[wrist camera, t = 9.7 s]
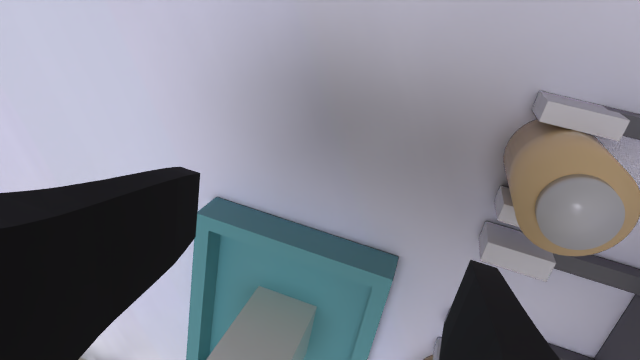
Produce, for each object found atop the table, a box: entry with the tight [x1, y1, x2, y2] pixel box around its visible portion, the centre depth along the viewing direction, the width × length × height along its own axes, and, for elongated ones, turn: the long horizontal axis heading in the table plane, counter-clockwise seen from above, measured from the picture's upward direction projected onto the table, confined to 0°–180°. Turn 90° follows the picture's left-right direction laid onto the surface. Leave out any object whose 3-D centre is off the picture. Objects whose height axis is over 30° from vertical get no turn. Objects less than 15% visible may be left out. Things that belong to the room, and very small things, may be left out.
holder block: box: [433, 91, 640, 360], centre depth 20 cm, size 9×19×2 cm, turn 169°
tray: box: [186, 197, 399, 360], centre depth 25 cm, size 11×13×2 cm
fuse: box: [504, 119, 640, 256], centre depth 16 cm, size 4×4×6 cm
